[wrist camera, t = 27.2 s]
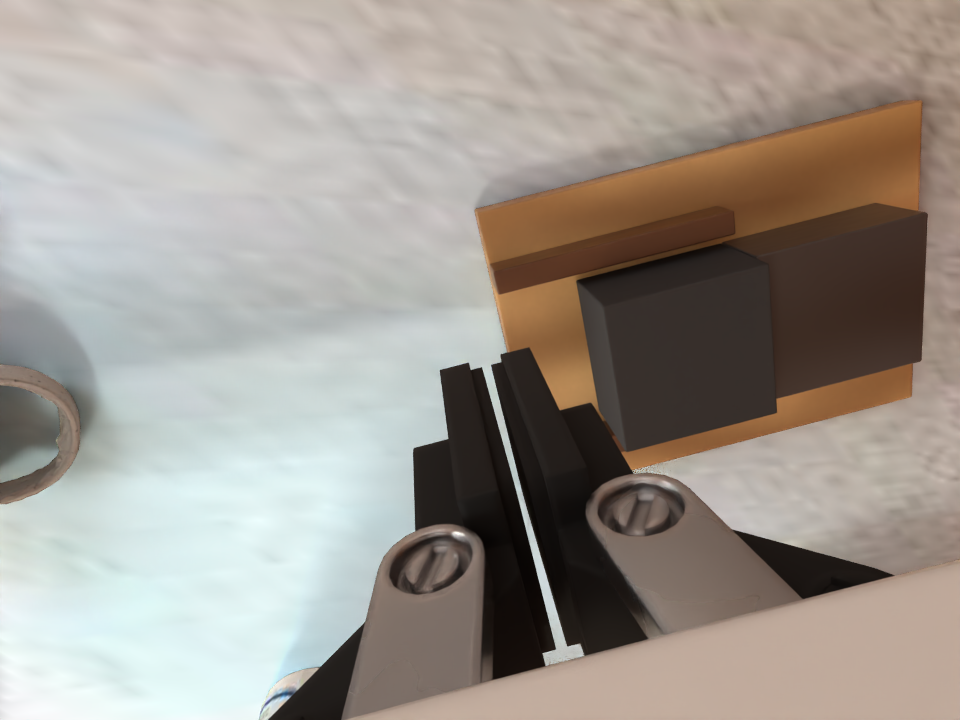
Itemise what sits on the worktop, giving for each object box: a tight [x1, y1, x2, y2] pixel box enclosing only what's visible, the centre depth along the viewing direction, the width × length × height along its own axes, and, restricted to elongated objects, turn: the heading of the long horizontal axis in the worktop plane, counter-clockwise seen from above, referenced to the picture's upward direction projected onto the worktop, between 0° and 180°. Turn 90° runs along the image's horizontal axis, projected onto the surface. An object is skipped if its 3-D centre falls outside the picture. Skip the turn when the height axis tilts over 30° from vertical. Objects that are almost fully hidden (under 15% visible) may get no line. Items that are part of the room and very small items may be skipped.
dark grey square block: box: [576, 244, 777, 452], centre depth 27 cm, size 6×6×4 cm
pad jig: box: [475, 100, 928, 470], centre depth 28 cm, size 14×19×4 cm
